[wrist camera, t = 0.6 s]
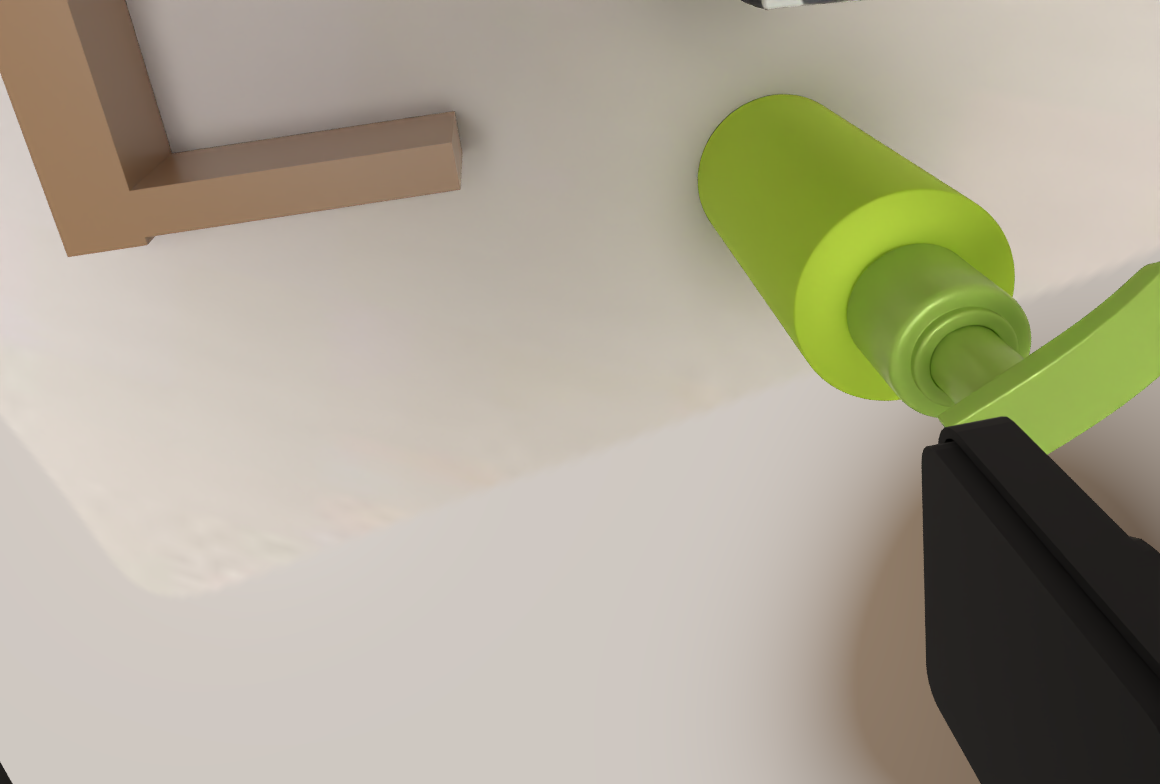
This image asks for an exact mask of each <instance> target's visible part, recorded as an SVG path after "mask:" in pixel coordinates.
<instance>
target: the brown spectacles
mask: <svg viewBox="0 0 1160 784" xmlns="http://www.w3.org/2000/svg"><path fill="white" fill-rule="evenodd" d="M0 73H1V76H2V78H3V81H4V84H5V87H6V89H7V92H8V95H9V98H10V100H11V103H12V106H13V109H14V111H15V114H16V117H17V119H18V122H19V125H20V128H21V130H22V133H23V136H24V139H25V141H26V144H27V147H28V149H29V152H30V155H31V158H32V160H33V163H34V166H35V169H36V171H37V174H38V177H39V180H40V182H41V185H42V188H43V190H44V193H45V196H46V199H47V201H48V204H49V207H50V210H51V212H52V215H53V218H54V220H55V223H56V226H57V229H58V231H59V234H60V237H61V240H62V242H63V245H64V248H65V251H66V253H67V256H68V257H71V256H78V255H84V254H91V253H98V252H104V251H111V250H117V249H124V248H131V247H137V246H144V245H148V244H149V242H150V241H151V240H152V239H153V238H154V237H155V236H157V235H164V234H170V233H177V232H184V231H190V230H197V229H203V228H210V227H217V226H223V225H230V224H236V223H243V222H250V221H256V220H263V219H269V218H276V217H283V216H289V215H296V214H302V213H309V212H316V211H322V210H329V209H335V208H342V207H349V206H355V205H362V204H368V203H375V202H382V201H388V200H395V199H401V198H408V197H415V196H421V195H428V194H434V193H441V192H448V191H454V190H460V189H461V169H462V149H461V143H460V138H459V132H458V126H457V121H456V115H455V111H452V112H445V113H438V114H432V115H425V116H418V117H412V118H405V119H398V120H392V121H385V122H378V123H372V124H365V125H358V126H352V127H345V128H338V129H331V130H325V131H318V132H311V133H305V134H298V135H291V136H285V137H278V138H271V139H265V140H258V141H251V142H245V143H238V144H231V145H225V146H218V147H211V148H205V149H198V150H191V151H185V152H178V153H172V152H171V149H170V146H169V142H168V139H167V136H166V132H165V129H164V126H163V123H162V119H161V116H160V113H159V110H158V106H157V103H156V100H155V96H154V93H153V90H152V87H151V83H150V80H149V77H148V74H147V70H146V67H145V64H144V60H143V57H142V54H141V51H140V47H139V44H138V41H137V37H136V34H135V31H134V28H133V24H132V21H131V18H130V15H129V11H128V8H127V5H126V1H125V0H0Z"/></svg>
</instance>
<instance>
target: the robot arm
mask: <svg viewBox="0 0 1160 784" xmlns="http://www.w3.org/2000/svg"><path fill="white" fill-rule="evenodd" d="M922 501H923V502H922V503H923V544H924V588H925V628H926V667H927V675H928V680H929V684H930V688H931V691H932V694H933V697H934V699H935V702H936V704H937V706H938V708H939V710H940V712H941V713H942V715H943V717H944V719H945V721H946V722H947V724H948V726H949V728H950V729H951V731H952V733H953V735H954V737H955V738H956V740H957V742H958V744H959V746H960V747H961V749H962V751H963V753H964V754H965V756H966V758H967V760H968V761H969V763H970V765H971V767H972V769H973V770H974V772H975V774H976V776H977V778H978V779H979V781H980V783H981V784H1160V553H1159V552H1158V551H1157V550H1155V549H1154V548H1153V547H1152V546H1150V545H1149V544H1147V543H1146V542H1145V541H1143V540H1142V539H1139V538H1134V537H1129V536H1128V535H1127V534H1126V533H1125V532H1124V531H1123V530H1122V529H1121V528H1120V527H1119V526H1118V525H1117V524H1116V523H1115V522H1114V521H1113V520H1112V519H1111V518H1110V517H1109V516H1108V515H1107V514H1106V513H1105V512H1104V511H1103V510H1102V509H1101V508H1100V507H1099V506H1098V505H1097V504H1096V503H1095V502H1094V501H1093V500H1092V499H1091V498H1090V497H1089V496H1088V495H1087V494H1086V493H1085V492H1084V491H1083V490H1082V489H1081V488H1080V487H1079V486H1078V485H1077V484H1076V483H1075V482H1074V481H1073V480H1072V479H1071V478H1070V477H1069V476H1068V475H1067V474H1066V473H1065V472H1064V471H1063V470H1062V469H1061V468H1060V467H1059V466H1058V465H1057V464H1056V463H1055V462H1054V461H1053V460H1052V459H1051V458H1050V457H1049V456H1048V455H1047V454H1046V453H1045V452H1044V451H1043V450H1042V449H1041V448H1040V447H1039V446H1038V445H1037V444H1036V443H1035V442H1034V441H1033V440H1032V439H1031V438H1030V437H1029V436H1028V435H1027V434H1026V433H1025V432H1024V431H1023V430H1022V429H1021V428H1020V427H1019V426H1018V425H1017V424H1016V423H1015V422H1014V421H1013V420H1011V419H1010V418H1008V417H1005V416H1000V417H995V418H990V419H985V420H980V421H974V422H969V423H964V424H959V425H954V426H948V427H945V428H944V429H943V430H942V431H941V433H940V437H939V441H938V444H937V445H932V446H927V447H925V448H924V450H923V453H922ZM0 784H12V782H11V780H10V779H9V777H8V775H7V773H6V772H5V770H4V768H3V766H2V765H1V763H0Z"/></svg>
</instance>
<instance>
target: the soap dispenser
mask: <svg viewBox="0 0 1160 784" xmlns="http://www.w3.org/2000/svg"><path fill="white" fill-rule="evenodd" d="M698 191H699V197H700V201H701V204H702V207H703V209H704V212H705V214H706V216H707V218H708V219H709V221H710V222H711V224H712V225H713V227H714V228H715V229H716V231H717V232H718V234H719V235H720V237H721V238H722V240H723V241H724V242H725V244H726V245H727V247H728V248H729V250H730V251H731V252H732V254H733V255H734V257H735V258H736V260H737V261H738V263H739V264H740V265H741V267H742V268H743V270H744V271H745V273H746V274H747V276H748V277H749V278H750V280H751V281H752V283H753V284H754V286H755V287H756V288H757V290H758V291H759V293H760V294H761V296H762V297H763V299H764V300H765V301H766V303H767V304H768V306H769V307H770V309H771V310H772V311H773V313H774V314H775V316H776V317H777V319H778V320H779V322H780V323H781V324H782V326H783V327H784V329H785V330H786V332H787V333H788V334H789V336H790V337H791V339H792V340H793V342H794V343H795V345H796V346H797V347H798V349H799V350H800V352H801V353H802V355H803V356H804V357H805V359H806V360H807V362H808V363H809V365H810V366H811V367H812V368H813V370H814V371H815V372H816V373H817V374H818V375H819V376H820V377H821V378H822V379H824V380H825V381H826V382H828V383H829V384H830V385H832V386H833V387H835V388H837V389H839V390H841V391H843V392H845V393H847V394H850V395H853V396H856V397H860V398H864V399H869V400H881V401H889V400H890V401H891V400H902V401H903V402H904V403H905V404H907V405H908V406H909V407H911V408H912V409H914V410H915V411H917V412H919V413H922V414H924V415H927V416H931V417H936V418H938V419H939V420H940V422H941V423H942V424H943V426H944V427H948V426H954V425H959V424H964V423H969V422H974V421H980V420H985V419H990V418H995V417H1000V416H1005V417H1008V418H1010V419H1011V420H1013V421H1014V422H1015V423H1016V424H1017V425H1018V426H1019V427H1020V428H1021V429H1022V430H1023V431H1024V432H1025V433H1026V434H1027V435H1028V436H1029V437H1030V438H1031V439H1032V440H1033V441H1034V442H1035V443H1036V444H1037V445H1038V446H1039V447H1040V448H1041V449H1042V450H1043V451H1044V452H1045V453H1046V454H1047V455H1048V454H1049V453H1051V452H1053V451H1054V450H1056V449H1057V448H1059V447H1061V446H1062V445H1064V444H1066V443H1067V442H1069V441H1070V440H1072V439H1074V438H1075V437H1077V436H1078V435H1080V434H1081V433H1083V432H1084V431H1086V430H1088V429H1089V428H1090V427H1092V426H1094V425H1095V424H1097V423H1098V422H1100V421H1101V420H1103V419H1104V418H1106V417H1107V416H1108V415H1110V414H1111V413H1113V412H1114V411H1116V410H1117V409H1118V408H1120V407H1121V406H1123V405H1124V404H1125V403H1127V402H1128V401H1129V400H1131V399H1132V398H1133V397H1135V396H1136V395H1137V394H1138V393H1140V392H1141V391H1142V390H1143V389H1145V388H1146V387H1147V386H1148V385H1150V384H1151V383H1152V382H1153V381H1154V380H1156V379H1157V378H1158V377H1159V376H1160V262H1157V263H1152V264H1148V265H1146V266H1144V267H1143V268H1141V269H1140V270H1139V271H1138V272H1137V273H1136V274H1135V275H1134V276H1132V277H1131V278H1130V279H1129V280H1128V281H1127V282H1126V283H1125V284H1124V285H1123V286H1122V287H1120V288H1119V289H1118V290H1117V291H1116V292H1115V293H1114V294H1112V295H1111V296H1110V297H1109V298H1108V299H1106V300H1105V301H1104V302H1103V303H1102V304H1100V305H1099V306H1098V307H1097V308H1095V309H1094V310H1093V311H1092V312H1090V313H1089V314H1088V315H1086V316H1085V317H1084V318H1082V319H1081V320H1080V321H1078V322H1077V323H1076V324H1074V325H1073V326H1071V327H1070V328H1069V329H1067V330H1066V331H1064V332H1063V333H1062V334H1060V335H1059V336H1057V337H1056V338H1054V339H1053V340H1051V341H1050V342H1048V343H1047V344H1045V345H1044V346H1042V347H1041V348H1039V349H1038V350H1036V351H1035V352H1033V353H1032V354H1030V355H1029V353H1030V347H1031V331H1030V325H1029V322H1028V319H1027V317H1026V315H1025V313H1024V311H1023V309H1022V308H1021V306H1020V305H1019V304H1018V303H1017V301H1016V300H1015V299H1014V298H1012V297H1013V291H1014V281H1015V273H1014V262H1013V257H1012V253H1011V249H1010V246H1009V244H1008V241H1007V239H1006V237H1005V235H1004V233H1003V231H1002V230H1001V228H1000V226H999V225H998V224H997V222H996V221H995V220H994V219H993V218H992V216H991V215H990V214H989V213H988V212H986V211H985V210H984V209H983V208H982V207H980V206H979V205H978V204H976V203H975V202H973V201H971V200H970V199H968V198H967V197H965V196H964V195H962V194H961V193H959V192H957V191H956V190H954V189H953V188H951V187H950V186H948V185H946V184H945V183H943V182H942V181H940V180H939V179H937V178H935V177H934V176H932V175H931V174H929V173H928V172H926V171H924V170H923V169H921V168H920V167H918V166H917V165H915V164H913V163H912V162H910V161H909V160H907V159H906V158H904V157H902V156H901V155H899V154H898V153H896V152H895V151H893V150H892V149H890V148H888V147H887V146H885V145H884V144H882V143H881V142H879V141H877V140H876V139H874V138H873V137H871V136H870V135H868V134H866V133H865V132H863V131H862V130H860V129H859V128H857V127H855V126H854V125H852V124H851V123H849V122H848V121H846V120H844V119H843V118H841V117H840V116H838V115H837V114H835V113H834V112H832V111H830V110H829V109H827V108H826V107H824V106H823V105H821V104H819V103H817V102H815V101H813V100H811V99H808V98H805V97H801V96H796V95H787V94H781V95H771V96H766V97H762V98H759V99H756V100H753V101H751V102H749V103H747V104H745V105H743V106H741V107H740V108H738V109H737V110H735V111H734V112H733V113H731V114H730V115H729V116H728V117H727V118H726V119H724V120H723V122H722V123H721V124H720V125H719V126H718V127H717V128H716V130H715V131H714V132H713V134H712V136H711V137H710V139H709V141H708V142H707V144H706V147H705V149H704V151H703V154H702V157H701V161H700V165H699V171H698Z"/></svg>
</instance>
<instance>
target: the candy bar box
mask: <svg viewBox="0 0 1160 784" xmlns="http://www.w3.org/2000/svg"><path fill="white" fill-rule="evenodd" d="M741 1H743V2H745V3H748V4H751V5H753V6H755V7H759V8H763V9H765V10H768V9H775V8H784V7H794V6H803V5H813V4H826V3H837V2H849V1H861V0H741Z"/></svg>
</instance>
